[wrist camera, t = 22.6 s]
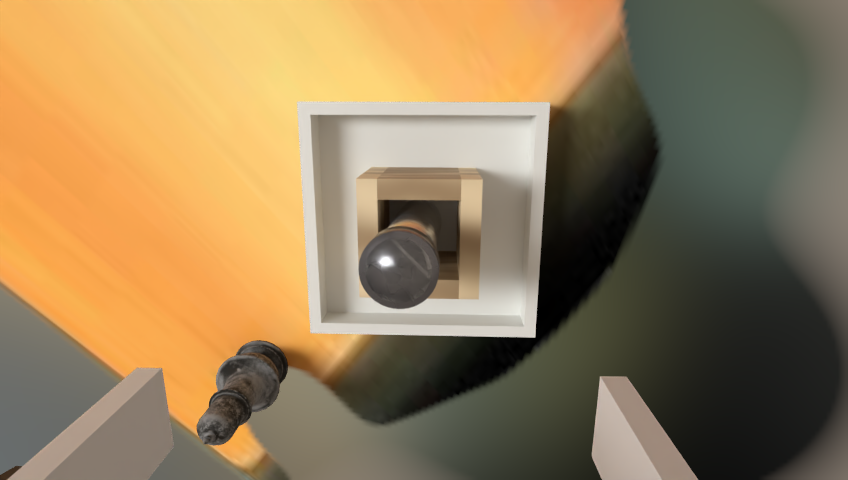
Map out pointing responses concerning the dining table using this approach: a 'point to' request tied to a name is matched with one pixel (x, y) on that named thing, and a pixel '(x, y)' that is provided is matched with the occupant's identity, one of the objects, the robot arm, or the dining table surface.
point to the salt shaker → (242, 390)
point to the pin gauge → (403, 257)
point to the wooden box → (427, 184)
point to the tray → (429, 147)
